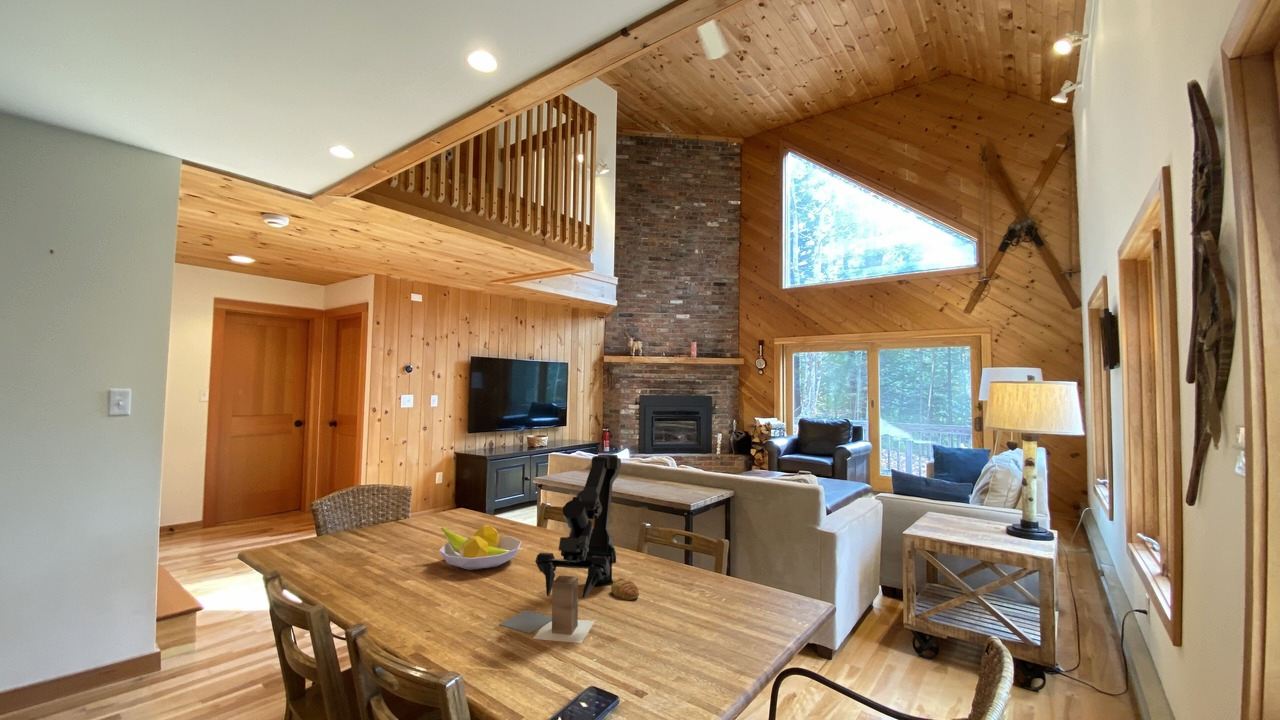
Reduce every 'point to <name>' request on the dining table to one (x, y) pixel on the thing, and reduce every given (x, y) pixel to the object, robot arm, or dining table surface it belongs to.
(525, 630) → the slate coaster
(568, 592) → the walnut block
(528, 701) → the dining table surface
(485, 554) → the fruit bowl
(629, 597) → the pastry
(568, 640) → the tile
